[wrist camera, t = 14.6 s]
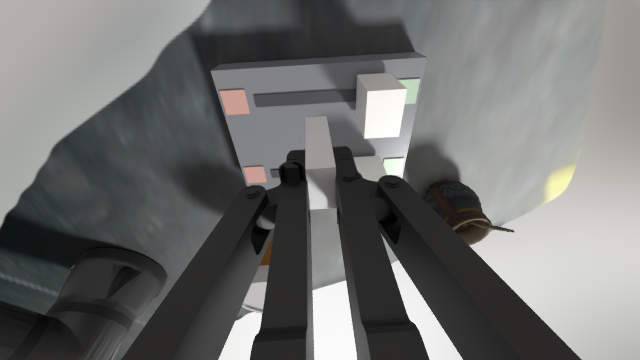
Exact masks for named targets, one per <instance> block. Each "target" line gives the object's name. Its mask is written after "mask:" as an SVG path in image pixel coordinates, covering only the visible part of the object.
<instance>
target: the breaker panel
mask: <svg viewBox="0 0 640 360" xmlns="http://www.w3.org/2000/svg"><path fill="white" fill-rule="evenodd" d="M426 61H427V57H425V56H423V55H421V54H419V53H417V52H404V53H388V54H372V55H356V56H340V57H324V58H308V59H292V60H276V61H260V62H244V63H228V64H220V65H218V66H217V67H215V68H214V69H213V70H211V74H212V78H213V81H214V84H215V87H216V90H217V93H218V97H219V100H220V103H221V106H222V109H223V112H224V115H225V119H226V122H227V125H228V128H229V131H230V134H231V138H232V141H233V144H234V147H235V150H236V153H237V157H238V160H239V163H240V166H241V169H242V172H243V176H244V179H245V182H246V185H247V187H248V186H252V185H260V186H263V187H264V188H265V189H266V190H268V189H272V188H274V187H277V186H278V185H280V184H281V181H280V176H279V171H278V168H279V166H280V165H281V164H283V163H285V162H286V158H287V154H288V153H289V152H290V151H291V150H305V133H306V117H318V116H327V121H328V127H329V132H330V138H331V143H332V147H340V146H347V147H348V148H349V149H351V152H352V155H353V157H364V156H379V157H380V159H381V162H382V164H383V166H384V168H385V171H386V173H387V175H396V176H398V177H401V178H402V176H403V171H404V166H405V162H406V157H407V152H408V147H409V142H410V138H411V133H412V128H413V123H414V118H415V114H416V109H417V104H418V99H419V94H420V90H421V85H422V80H423V75H424V70H425V66H426ZM378 73H390V74H391V75H393V76H394V77H395V78H396V79H397V80H398V81H399V82H400V83H401V84H402V85H404V86H405V87H406V88H407V93H406V99H405V105H404V110H403V116H402V122H401V127H400V133H399V137H385V138H369V139H364V137H363V135H362V132H361V129H360V127H359V124H358V121H357V119H356V116H355V115H356V92H357V75H361V74H378Z"/></svg>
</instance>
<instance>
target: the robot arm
mask: <svg viewBox="0 0 640 360" xmlns="http://www.w3.org/2000/svg"><path fill="white" fill-rule="evenodd" d="M278 171H279V176H280V181H281V184H280V185H278V186H277V187H274V188H272V189H268V190H266V189H265V188H264V187H263V186H260V185H252V186H248V187H246V188H244V189H243V190H242V191H241V192H240V193H239V194H238V196H237V197H236V199H235V200H234V201H233V203H232V204H231V206H230V207H229V208H228V210H227V211H226V213H225V214H224V215H223V217H222V218H221V220H220V221H219V223H218V224H217V225H216V227H215V228H214V230H213V231H212V232H211V234H210V235H209V237H208V238H207V239H206V241H205V242H204V244H203V245H202V247H201V248H200V249H199V251H198V252H197V254H196V255H195V256H194V258H193V259H192V261H191V262H190V263H189V265H188V266H187V268H186V269H185V271H184V272H183V273H182V275H181V276H180V278H179V279H178V280H177V282H176V283H175V285H174V286H173V287H172V289H171V290H170V292H169V293H168V294H167V296H166V297H165V299H164V300H163V302H162V303H161V304H160V306H159V307H158V309H157V310H156V311H155V313H154V314H153V316H152V317H151V318H150V320H149V321H148V323H147V324H146V326H145V327H144V328H143V330H142V331H141V333H140V334H139V335H138V337H137V338H136V340H135V341H134V342H133V344H132V345H131V347H130V348H129V349H128V351H127V352H126V354H125V355H124V357H123V358H122V359H121V360H218V359H219V356H220V354H221V351H222V349H223V347H224V345H225V342H226V340H227V338H228V336H229V333H230V331H231V329H232V326H233V324H234V322H235V320H236V318H237V315H238V313H239V311H240V309H241V306H242V304H243V302H244V299H245V297H246V295H247V293H248V290H249V288H250V286H251V283H252V281H253V279H254V277H255V274H256V272H257V270H258V268H259V265H260V263H261V261H262V258H263V256H264V254H265V252H266V249H267V247H268V245H269V243H270V240H271V238H272V236H273V241H272V248H271V256H270V263H269V270H268V277H267V285H266V292H265V299H264V306H263V313H262V321H261V327H260V331H259V333H258V334H257V335H256V336H255V339H254V341H253V345H252V351H251V356H250V360H314V340H313V300H312V299H313V298H312V258H311V217H310V209H324V208H336V205H337V224H338V226H339V233H340V239H341V246H342V253H343V260H344V267H345V274H346V281H347V288H348V295H349V302H350V309H351V316H352V323H353V330H354V337H355V344H356V351H357V360H429V357H428V354H427V351H426V349H425V346H424V343H423V340H422V337H421V335H420V332H419V330H418V329H417V327H416V325H415V324H414V323H413V322H411V321H410V320H409V318H408V315H407V313H406V310H405V307H404V304H403V301H402V297H401V294H400V291H399V288H398V285H397V282H396V279H395V276H394V273H393V270H392V266H391V263H390V260H389V257H388V254H387V251H386V248H385V245H384V242H383V239H382V236H381V234H382V235H383V237H384V238H385V240H386V241H387V243H388V244H389V246H390V248H391V249H392V251H393V252H394V254H395V255H396V257H397V258H398V260H399V261H400V263H401V264H402V266H403V268H404V269H405V270H406V272H407V274H408V275H409V277H410V278H411V280H412V281H413V283H414V284H415V286H416V288H417V289H418V291H419V292H420V294H421V295H422V297H423V298H424V300H425V301H426V303H427V304H428V306H429V308H430V309H431V311H432V312H433V314H434V315H435V317H436V318H437V320H438V321H439V323H440V324H441V326H442V328H443V329H444V331H445V332H446V334H447V335H448V337H449V338H450V340H451V341H452V343H453V345H454V346H455V348H456V349H457V351H458V352H459V354H460V355H461V357H462V358H463V360H581V359H580V358H579V357H578V356H577V355H576V354H575V353H574V352H573V351H572V350H571V349H570V348H569V347H568V346H567V345H566V343H565V342H564V341H563V340H561V338H560V337H559V336H557V335H556V333H555V332H553V330H552V329H551V328H550V327H549V326H548V325H547V324H546V323H545V322H544V321H543V320H541V318H540V317H539V316H538V315H537V314H536V313H535V312H534V311H533V310H532V309H531V308H530V307H529V306H528V305H527V304H526V303H525V302H524V301H523V300H522V299H521V298H520V297H519V296H518V295H517V294H516V293H515V292H514V291H513V290H512V289H511V288H510V287H509V286H508V285H507V284H506V283H505V282H504V281H503V280H502V279H501V278H500V277H499V276H498V275H497V274H496V273H495V272H494V271H493V270H492V269H491V268H490V267H489V266H488V265H487V263H485V261H484V260H483V259H482V258H481V257H480V256H479V255H478V254H477V253H476V252H475V251H473V249H472V248H471V247H470V246H469V245H468V244H467V243H466V242H465V241H464V240H463V239H462V238H461V237H460V236H459V235H458V234H457V233H456V232H455V231H454V230H453V229H452V228H451V227H450V226H449V225H448V224H447V223H446V222H445V221H444V220H443V219H442V218H441V217H440V216H439V215H438V214H437V213H436V212H435V211H434V210H433V209H432V208H431V207H430V206H429V205H428V204H427V203H426V202H425V201H424V200H423V199H422V198H421V197H420V196H419V195H418V194H417V193H416V192H415V191H414V190H413V188H412V187H411V186H410V185H409V184H408V183H407V182H406V181H405V180H403V179H402V178H401V177H398V176H396V175H385V176H382V177H381V178H380V179H379V180H378V182H377V181H370V180H367V179H364V178H363V177H362V175H361V174H360V173H359V172H358V171H357V168H356V164H355V161H354V158H353V155H352V152H351V149H349V148H348V147H347V146H340V147H332V143H331V138H330V132H329V127H328V121H327V116H318V117H306V133H305V150H291V151H290V152H289V153H288V154H287V158H286V162H285V163H283V164H281V165H280V166H279V168H278ZM273 233H274V234H273ZM166 281H167V274H166V272H165V270H164V269H163V268H162V267H161V266H160V265H159V264H157V263H156V262H154V261H153V260H151V259H149V258H147V257H145V256H143V255H140V254H138V253H135V252H131V251H127V250H123V249H117V248H95V249H91V250H88V251H86V252H84V253H83V254H82V255H81V256H80V257H79V258H78V259H77V260H76V261H75V262H74V264H73V265H72V266H71V268H70V271H69V276H68V278H67V280H66V282H65V284H64V286H63V288H62V290H61V292H60V294H59V296H58V298H57V300H56V302H55V303H54V304H53V306H52V307H51V308H50V309H49V310H48V312H47V313H46V314H45V315H42V314H39V313H37V312H34V311H31V310H28V309H25V308H22V307H19V306H16V305H13V304H10V303H7V302H4V301H1V300H0V360H113V358H114V357H115V355H116V353H117V351H118V349H119V348H120V346H121V344H122V342H123V340H124V338H125V337H126V335H127V333H128V331H129V329H130V327H131V326H132V324H133V322H134V321H135V319H136V318H137V317H138V316H139V315H140V313H141V312H142V311H143V310H144V309H145V308H146V307H147V306H148V304H149V303H150V302H151V301H152V300H153V299H154V298H155V297H156V296H157V295H158V294H159V293H160V292H161V291H162V289H163V287H164V285H165V283H166Z"/></svg>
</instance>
